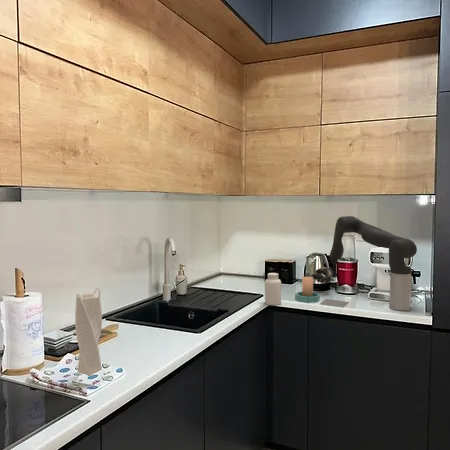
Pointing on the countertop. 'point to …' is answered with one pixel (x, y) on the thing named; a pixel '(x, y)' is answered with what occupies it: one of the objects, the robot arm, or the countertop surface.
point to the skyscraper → (88, 331)
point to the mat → (334, 303)
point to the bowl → (307, 299)
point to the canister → (307, 286)
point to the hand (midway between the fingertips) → (313, 279)
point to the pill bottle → (273, 289)
